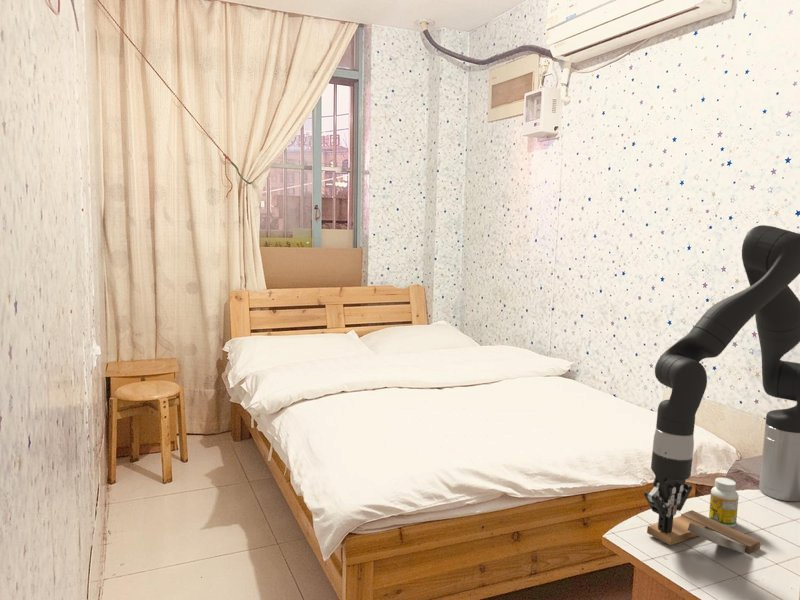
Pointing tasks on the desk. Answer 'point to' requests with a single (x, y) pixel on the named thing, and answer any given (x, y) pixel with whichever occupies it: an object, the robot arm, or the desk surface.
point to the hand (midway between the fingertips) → (664, 531)
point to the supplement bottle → (724, 502)
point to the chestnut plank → (674, 531)
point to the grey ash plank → (716, 538)
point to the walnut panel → (724, 530)
